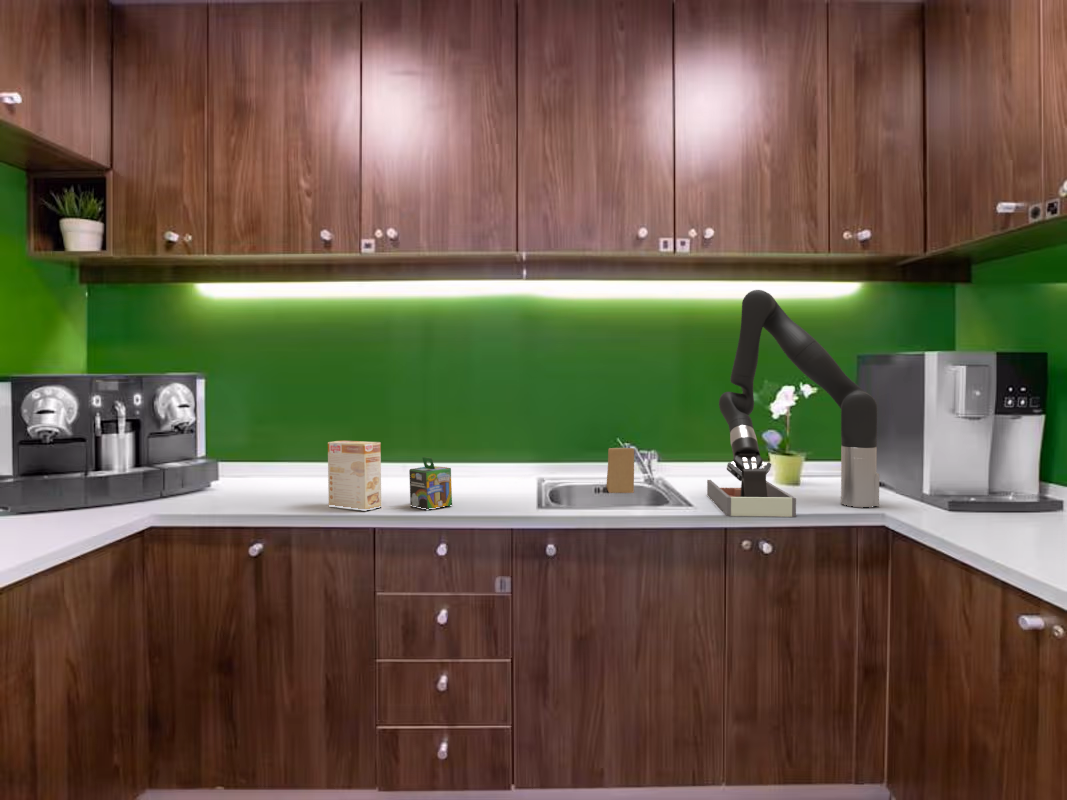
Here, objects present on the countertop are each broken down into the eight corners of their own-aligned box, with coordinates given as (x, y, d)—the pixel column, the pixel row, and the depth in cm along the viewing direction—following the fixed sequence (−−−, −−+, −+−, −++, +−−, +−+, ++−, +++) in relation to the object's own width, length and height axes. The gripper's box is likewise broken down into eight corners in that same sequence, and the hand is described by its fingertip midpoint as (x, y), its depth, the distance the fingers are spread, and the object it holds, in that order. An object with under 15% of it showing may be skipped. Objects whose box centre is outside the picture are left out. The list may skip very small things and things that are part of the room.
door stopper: (768, 514, 176) (768, 471, 176) (746, 514, 177) (746, 470, 176) (760, 508, 185) (761, 466, 185) (739, 508, 186) (739, 466, 185)
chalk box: (452, 506, 190) (452, 456, 190) (427, 511, 184) (426, 459, 183) (434, 502, 197) (433, 454, 196) (408, 507, 190) (408, 457, 190)
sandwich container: (630, 485, 228) (630, 443, 227) (634, 493, 212) (634, 448, 212) (605, 485, 228) (605, 443, 228) (608, 493, 213) (608, 447, 213)
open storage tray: (765, 495, 205) (765, 480, 205) (795, 516, 173) (796, 498, 173) (707, 495, 207) (707, 479, 207) (727, 515, 175) (727, 497, 175)
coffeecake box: (382, 508, 189) (381, 441, 188) (364, 512, 182) (363, 443, 182) (345, 503, 196) (345, 439, 196) (327, 507, 190) (326, 441, 190)
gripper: (723, 435, 192) (731, 483, 180) (769, 436, 190) (780, 484, 179) (720, 451, 197) (727, 498, 185) (764, 452, 196) (775, 499, 184)
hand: (753, 491), depth 182 cm, fingers closed
